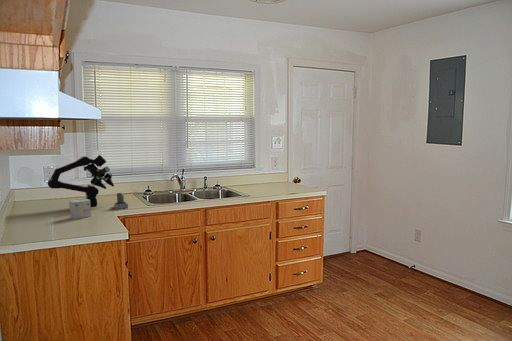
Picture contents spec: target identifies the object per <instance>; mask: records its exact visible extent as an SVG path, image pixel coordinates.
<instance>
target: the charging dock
mask: <svg viewBox="0 0 512 341" xmlns="http://www.w3.org/2000/svg"><path fill="white" fill-rule="evenodd" d="M113 208H114V210H123V209H122V208H125V209H128V208H129V204H128V202H127V201H124V204H118V205H117V201H116V202H113Z"/></svg>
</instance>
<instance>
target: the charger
mask: <svg viewBox="0 0 512 341" xmlns="http://www.w3.org/2000/svg"><path fill="white" fill-rule="evenodd" d="M124 197H125V195H124V192H117V193H116V202H117V205H118V204H124V202H125V198H124Z"/></svg>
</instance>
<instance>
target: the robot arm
mask: <svg viewBox="0 0 512 341" xmlns="http://www.w3.org/2000/svg"><path fill="white" fill-rule="evenodd" d="M106 163H107V160H106V159H105V158H104V157H103V156H102V155H100V154H99V155H97V157H95V158H94V159H93V158H89V157H88V156H85V155H83V156H81V157H80V158H78V159H77V160H75V161H73V162H70V163H68V164H65V165H63V166H60V167H58V168H57V167H56V168H55V169H54V171H53V173H52V175H51V177H50V178H49V179H48V180H47V183H46V184H47V186H48V188H50V189H55V190H56V189H65V190H69V191H70V190H71V191H77V192H80V193H81V192H82V193H85V196H86V197H85V199H90V206H91V208H93V207H97V206H98V199H97V195H99V192H100V191H99V189H98V188H97V187H100V188H101V189H105V190H106V189H107V186H106V185H105V184H104V183H103V181H104V182H105V183H106V184H107V185H109V186H111V187H114V186H115V185H114V182H113V180H112V178H113V174H112V173H111V172H110V171H111V170H110V167H109V166H105V167H103V168H101V167H102V166H104V165H105V164H106ZM79 167H83V171H84V172H87V171H88V172H89V173H90V174H91V175H90V176H91V177H92V178H91V180H90V184H87V186H83V185H79V184H73V183H68V182H63V181H60V180H59V179H60V176H61V174H63V173H66V172H69V171H72V170H73V169H76V168H79ZM98 167H100V168H98Z"/></svg>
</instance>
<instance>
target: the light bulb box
mask: <svg viewBox="0 0 512 341" xmlns="http://www.w3.org/2000/svg"><path fill="white" fill-rule="evenodd" d="M68 203H69V204H68V205H69V213H70V214H69V215H70V219H72V220H79V219H84V218H88V217H92V207H91V206H90V199H86V198H82V199H80V198H79V199H76V200H69V202H68ZM78 218H79V219H78Z"/></svg>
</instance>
